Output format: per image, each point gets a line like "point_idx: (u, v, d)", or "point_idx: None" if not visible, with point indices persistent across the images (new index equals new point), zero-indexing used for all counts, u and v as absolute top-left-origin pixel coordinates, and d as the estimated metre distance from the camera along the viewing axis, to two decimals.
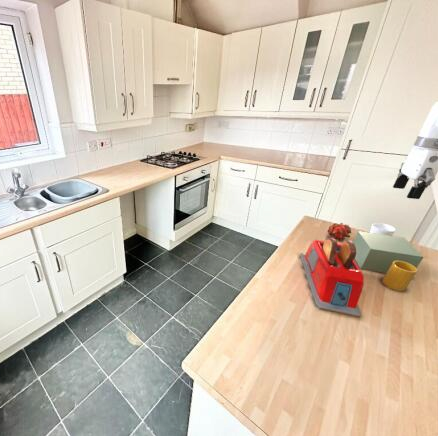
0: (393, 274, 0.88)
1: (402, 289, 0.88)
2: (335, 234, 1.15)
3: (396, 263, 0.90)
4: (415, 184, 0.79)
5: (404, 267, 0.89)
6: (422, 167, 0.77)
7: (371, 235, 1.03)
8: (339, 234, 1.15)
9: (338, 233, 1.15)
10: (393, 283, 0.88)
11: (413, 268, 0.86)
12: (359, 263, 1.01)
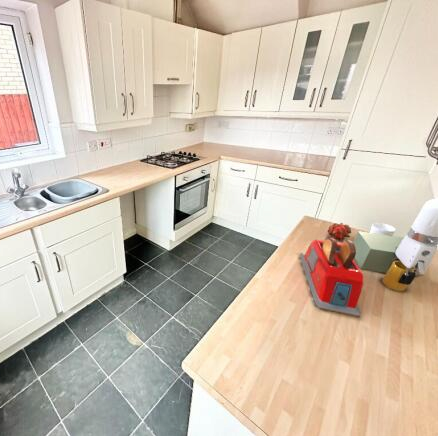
0: (393, 274, 0.88)
1: (402, 289, 0.88)
2: (335, 234, 1.15)
3: (396, 263, 0.90)
4: (406, 272, 0.84)
5: (404, 267, 0.89)
6: (415, 259, 0.80)
7: (371, 235, 1.03)
8: (339, 234, 1.15)
9: (338, 233, 1.15)
10: (393, 283, 0.88)
11: None
12: (359, 263, 1.01)
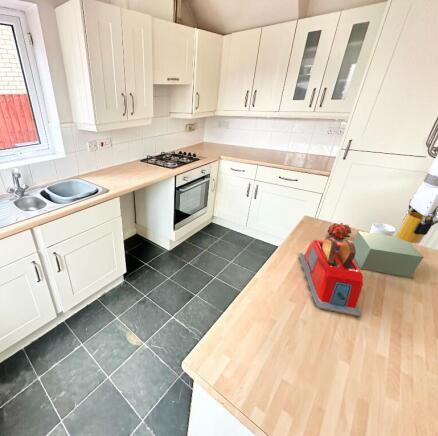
0: (408, 225, 0.84)
1: (418, 241, 0.85)
2: (335, 234, 1.15)
3: (411, 215, 0.86)
4: (422, 221, 0.81)
5: (419, 219, 0.86)
6: (433, 205, 0.77)
7: (371, 235, 1.03)
8: (339, 234, 1.15)
9: (338, 233, 1.15)
10: (408, 235, 0.85)
11: (429, 218, 0.83)
12: (359, 263, 1.01)
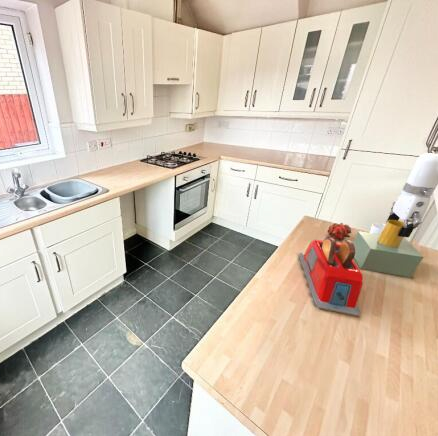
0: (387, 231, 0.95)
1: (396, 245, 0.95)
2: (335, 234, 1.15)
3: (390, 222, 0.96)
4: (404, 225, 0.89)
5: (397, 226, 0.96)
6: (410, 211, 0.86)
7: (371, 235, 1.03)
8: (339, 234, 1.15)
9: (338, 233, 1.15)
10: (388, 240, 0.95)
11: None
12: (359, 263, 1.01)
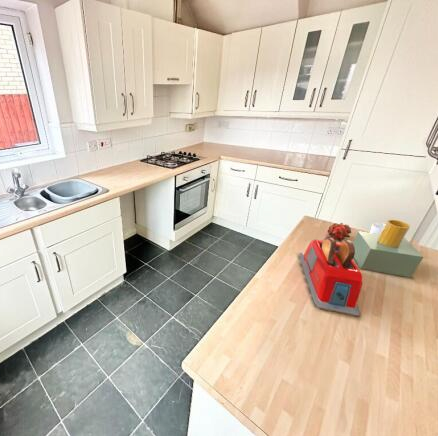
0: (387, 231, 0.95)
1: (396, 245, 0.95)
2: (335, 234, 1.15)
3: (390, 222, 0.96)
4: None
5: (397, 226, 0.96)
6: None
7: (371, 235, 1.03)
8: (339, 234, 1.15)
9: (338, 233, 1.15)
10: (388, 240, 0.95)
11: (406, 225, 0.93)
12: (359, 263, 1.01)
